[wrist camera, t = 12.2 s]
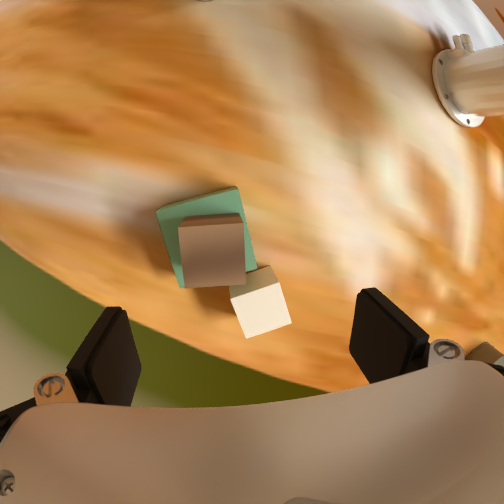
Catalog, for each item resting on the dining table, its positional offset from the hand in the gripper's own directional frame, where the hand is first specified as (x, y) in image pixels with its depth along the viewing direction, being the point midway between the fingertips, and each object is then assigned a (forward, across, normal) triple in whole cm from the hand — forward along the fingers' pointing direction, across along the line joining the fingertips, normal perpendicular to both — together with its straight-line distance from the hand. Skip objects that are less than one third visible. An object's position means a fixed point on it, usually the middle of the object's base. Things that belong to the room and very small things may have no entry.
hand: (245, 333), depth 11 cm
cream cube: (+21, -3, +8) cm, 22 cm away
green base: (+21, +2, +1) cm, 21 cm away
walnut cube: (+17, +2, +1) cm, 17 cm away
